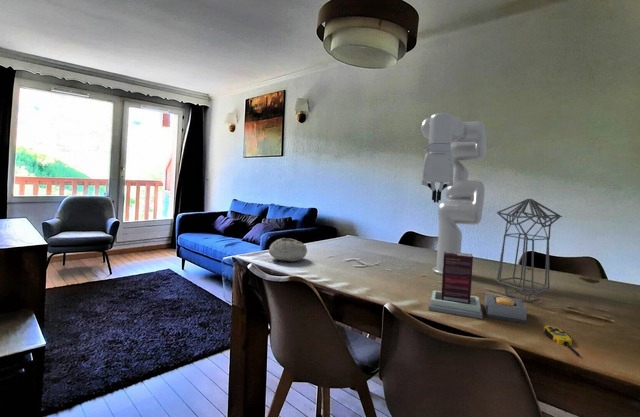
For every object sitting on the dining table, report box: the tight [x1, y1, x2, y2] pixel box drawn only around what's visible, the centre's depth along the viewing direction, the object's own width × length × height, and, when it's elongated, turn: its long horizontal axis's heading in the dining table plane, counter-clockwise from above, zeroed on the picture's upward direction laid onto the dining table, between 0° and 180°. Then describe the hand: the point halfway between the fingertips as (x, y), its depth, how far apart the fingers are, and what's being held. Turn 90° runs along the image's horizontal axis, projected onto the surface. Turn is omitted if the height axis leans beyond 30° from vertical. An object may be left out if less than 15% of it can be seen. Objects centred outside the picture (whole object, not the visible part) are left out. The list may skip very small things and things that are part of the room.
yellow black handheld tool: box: [543, 325, 580, 357], centre depth 87 cm, size 5×2×15 cm
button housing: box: [484, 293, 528, 324], centre depth 104 cm, size 10×10×4 cm
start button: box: [496, 296, 515, 306], centre depth 104 cm, size 5×5×3 cm
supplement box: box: [441, 252, 474, 304], centre depth 109 cm, size 9×5×16 cm, turn 70°
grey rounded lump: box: [268, 237, 308, 262], centre depth 163 cm, size 18×18×10 cm
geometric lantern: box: [496, 198, 563, 303], centre depth 121 cm, size 16×16×35 cm
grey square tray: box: [428, 289, 483, 320], centre depth 109 cm, size 14×15×3 cm
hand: (436, 202), depth 121 cm, fingers closed
